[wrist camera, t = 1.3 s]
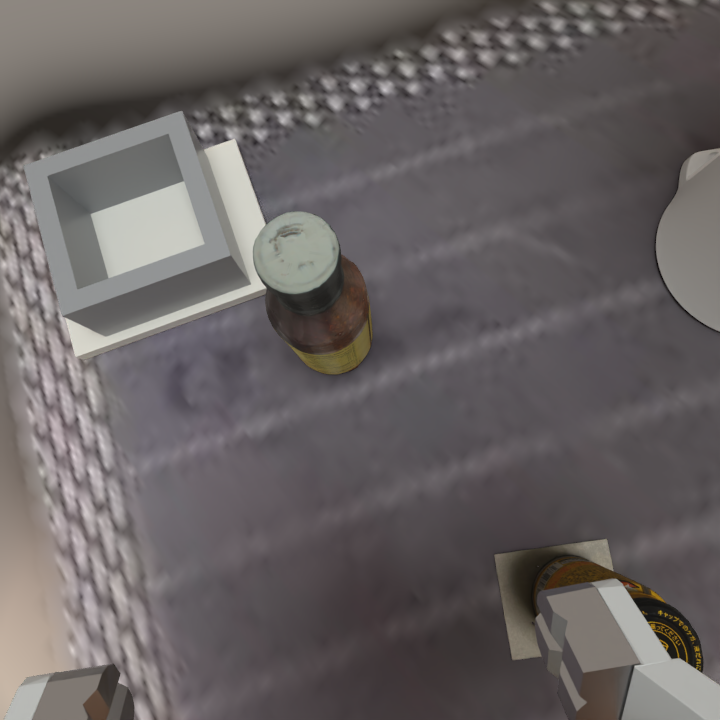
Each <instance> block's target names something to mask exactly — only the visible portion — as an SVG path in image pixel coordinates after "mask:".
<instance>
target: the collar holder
mask: <svg viewBox="0 0 720 720" xmlns="http://www.w3.org/2000/svg"><path fill="white" fill-rule="evenodd" d="M24 170H25V174H26V178H27V182H28V186H29V189H30V193H31V197H32V201H33V205H34V209H35V213H36V217H37V220H38V224H39V228H40V232H41V236H42V240H43V244H44V248H45V252H46V255H47V259H48V263H49V267H50V271H51V275H52V279H53V283H54V287H55V290H56V294H57V298H58V302H59V306H60V310H61V314H62V316H63V317H65V318H66V322H67V326H68V330H69V334H70V338H71V341H72V345H73V349H74V353H75V357H77V358H79V359H82V360H85V359H88V358H91V357H94V356H96V355H99V354H102V353H105V352H107V351H110V350H113V349H116V348H118V347H121V346H124V345H127V344H129V343H132V342H135V341H138V340H141V339H143V338H146V337H149V336H152V335H154V334H157V333H160V332H163V331H165V330H168V329H171V328H174V327H176V326H179V325H182V324H185V323H187V322H190V321H193V320H196V319H198V318H201V317H204V316H207V315H210V314H212V313H215V312H218V311H221V310H223V309H226V308H229V307H232V306H234V305H237V304H240V303H243V302H245V301H248V300H251V299H254V298H256V297H259V296H262V295H265V294H266V290H267V288H266V287H265V285H264V284H263V283H262V282H261V280H260V278H259V276H258V274H257V272H256V270H255V266H254V262H253V246H254V242H255V239H256V238H257V236H258V235H259V233H260V231H261V230H262V228H263V227H264V226H265V225H266V222H265V220H264V217H263V214H262V211H261V209H260V206H259V203H258V200H257V197H256V195H255V192H254V189H253V186H252V183H251V181H250V178H249V175H248V172H247V170H246V167H245V164H244V161H243V158H242V156H241V153H240V150H239V147H238V145H237V143H236V140H235V139H233V140H230V141H227V142H224V143H222V144H219V145H216V146H213V147H210V148H207V149H203V148H202V146H201V144H200V142H199V140H198V139H197V137H196V135H195V133H194V131H193V130H192V128H191V126H190V124H189V122H188V121H187V119H186V117H185V115H184V113H183V112H182V111H179V112H177V113H174V114H171V115H168V116H165V117H162V118H159V119H156V120H154V121H151V122H148V123H145V124H142V125H139V126H136V127H133V128H131V129H128V130H125V131H122V132H119V133H116V134H113V135H110V136H108V137H105V138H102V139H99V140H96V141H93V142H90V143H87V144H85V145H82V146H79V147H76V148H73V149H70V150H67V151H64V152H61V153H59V154H56V155H53V156H50V157H47V158H44V159H41V160H38V161H36V162H33V163H30V164H27V165H24Z"/></svg>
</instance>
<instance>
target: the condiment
mask: <svg viewBox="0 0 720 720" xmlns="http://www.w3.org/2000/svg"><path fill="white" fill-rule="evenodd" d="M494 557H495V563H496V570H497V575H498V582H499V586H500V593H501V599H502V605H503V610H504V617H505V622H506V626H507V633H508V639H509V644H510V649H511V655H512V660H517V659H526V658H532V657H542V656H541V653H540V650H539V647H538V644H537V638H536V632H535V625H533V624H532V622H534V623H535V618H536V617H537V616H538V615H539V614H540V613H541V612H540V610H539V607H538V605H537V595H538V593H539V592H540V591H543V590H548V589H554V588H559V587H564V586H570V585H575V584H580V583H586V582H588V583H591V582H596V581H601V580H606V579H612V578H613V579H617V580H619V581H620V582H621V583H622V584H623V586H624V587H625V589H626V590H627V592H628V593H629V595H630V596H631V598H632V599H633V601H634V602H635V604H636V605H637V607H638V608H639V610H640V611H641V613H642V614H643V616H644V618H645V619H646V621H647V622H648V624H649V625H650V627H651V628H652V630H653V631H654V633H655V634H656V636H657V637H658V639H659V640H660V642H661V643H662V645H663V647H664V648H665V650H666V651H667V653H668V654H669V656H670V657H671V659H675V658H680V659H682V660H683V661H685V662H686V663H688V664H689V665H691V666H692V667H694V668H695V669H697V670H698V671H700V672H701V673H702V671H703V656H702V650H701V644H700V640H699V638H698V636H697V633H696V632H695V630H694V629H693V628H692V626H691V624H690V623H689V621H688V620H687V619H686V618H685V617H684V616H683V615H682V614H681V613H680V612H679V611H678V610H676V608H674V607H672V606H671V605H669V604H667V603H666V602H665V601H664V600H663V599H662V598H661V597H660V596H659V595H658V594H657V593H655V592H654V591H652V590H651V589H650V588H647V587H646V586H644V585H642V584H640V583H637V582H635V581H633V580H631V579H629V578H627V577H625V576H622V575H621V574H618V573H616V572H614V571H613V566H612V560H611V556H610V551H609V546H608V542H607V539H603V540H595V541H588V542H580V543H572V544H565V545H558V546H551V547H545V548H539V549H530V550H522V551H515V552H510V553H502V554H494ZM537 566H539V567H537Z"/></svg>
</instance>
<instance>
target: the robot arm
mask: <svg viewBox="0 0 720 720" xmlns="http://www.w3.org/2000/svg"><path fill="white" fill-rule="evenodd" d="M656 255H657V261H658V265H659V269H660V272H661V274H662V277H663V279H664V281H665V283H666V285H667V287H668V289H669V290H670V292H671V293H672V295H673V296H674V297H675V299H676V300H677V301H678V302H679V303H680V305H681V306H682V307H683V308H684V309H685V310H686V311H687V312H689V313H690V314H691V315H692V316H693V317H695V318H696V319H697V320H699V321H700V322H702V323H704V324H705V325H707V326H709V327H711V328H713V329H715V330H717V331H719V332H720V148H718V149H712V150H706V151H700V152H697V153H695V154H693V155H692V156H690V157H689V158H688V159H686V160H685V161H684V163H683V165H682V167H681V171H680V177H679V186H678V190H677V193H676V195H675V196H674V198H673V199H672V201H671V202H670V204H669V205H668V207H667V208H666V210H665V212H664V214H663V216H662V218H661V220H660V223H659V227H658V230H657V236H656ZM537 605H538V607H539V610H540V612H541V613H540V614H539V615H538V616H537V617H536V618H535V632H536V638H537V644H538V647H539V650H540V653H541V656H542V659H543V661H544V664H545V666H546V668H547V670H548V671H549V672H551V673H552V674H553V675H554V676H556V677H557V678H558V679H559V683H558V692H557V694H558V697H559V699H560V701H561V703H562V706H563V708H564V710H565V713H566V715H567V717H568V720H720V685H719V684H717V683H716V682H715V681H713V680H712V679H710V678H709V677H707V676H706V675H704V674H703V673H701V672H700V671H698V670H697V669H695V668H694V667H692V666H691V665H689V664H688V663H686V662H685V661H683V660H682V659H680V658H675V659H671V657H670V656H669V654H668V653H667V651H666V650H665V648H664V647H663V645H662V643H661V642H660V640H659V639H658V637H657V636H656V634H655V633H654V631H653V630H652V628H651V627H650V625H649V624H648V622H647V621H646V619H645V618H644V616H643V614H642V613H641V611H640V610H639V608H638V607H637V605H636V604H635V602H634V601H633V599H632V598H631V596H630V595H629V593H628V592H627V590H626V589H625V587H624V586H623V584H622V583H621V582H620V581H619V580H617V579H613V578H612V579H606V580H601V581H596V582H591V583H588V582H586V583H580V584H575V585H570V586H564V587H559V588H554V589H548V590H543V591H540V592H539V593H538V595H537ZM119 677H120V672H119V671H118V669H117V668H116V666H115V665H114V664H108V665H102V666H96V667H89V668H83V669H77V670H70V671H64V672H55V673H49V674H44V675H38V676H32V677H27V678H26V679H25V680H24V682H23V683H22V684H21V686H19V688H18V690H17V692H16V694H15V696H14V698H13V701H12V703H11V705H10V707H9V709H8V711H7V714H6V716H5V718H4V720H134V702H133V697H132V694H131V692H130V690H129V689H128V687H126V686H124V685H121V684H119V683H118V680H119Z"/></svg>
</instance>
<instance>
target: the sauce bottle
mask: <svg viewBox="0 0 720 720" xmlns="http://www.w3.org/2000/svg"><path fill="white" fill-rule="evenodd" d="M253 262H254V266H255V270H256V272H257V274H258V276H259V278H260V280H261V282H262V283H263V284H264V285H265V287H266V288H267V290H266V296H265V304H266V311H267V314H268V318H269V320H270V322H271V324H272V326H273V328H274V329H275V331H276V332H277V333H278V334H279V336H280V337H281V338H282V339H283V340H284V341H285V342H286V343H287V344H288V345H289V346H290V347H291V348H292V349H293V351H294V352H295V353H296V354H297V355H298V356H299V357H300V358H301V360H302V361H303V362H304V363H305V364H306V365H308V366H309V367H310V368H312V369H314V370H316V371H318V372H321V373H325V374H340V373H344V372H347V371H351V370H353V369H355V368H357V367H358V365H359V364H360V363H361V362H362V361H363V359H364V358H365V357H366V355H367V353H368V352H369V349H370V346H371V341H372V322H371V312H370V303H369V296H368V292H367V289H366V285H365V282H364V279H363V276H362V275H361V273H360V271H359V269H358V268H357V266H356V265H355V264H354V263H353V262H351V261H349V260H348V259H347V258H346V257H345V256H343V255H341V249H340V244H339V242H338V239H337V236H336V234H335V232H334V231H333V229H332V228H331V226H330V225H328V224H327V223H326V222H325V221H324V220H323V219H322V218H320V217H318V216H316V215H315V214H310V213H307V212H295V211H293V212H287V213H284V214H282V215H280V216H278V217H276V218H274V219H273V220H271V221H270V222H268V223H267V224H266V225H265V226H264V227H263V228H262V230H261V231H260V233H259V235H258V236H257V238H256V239H255V242H254V246H253Z"/></svg>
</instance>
